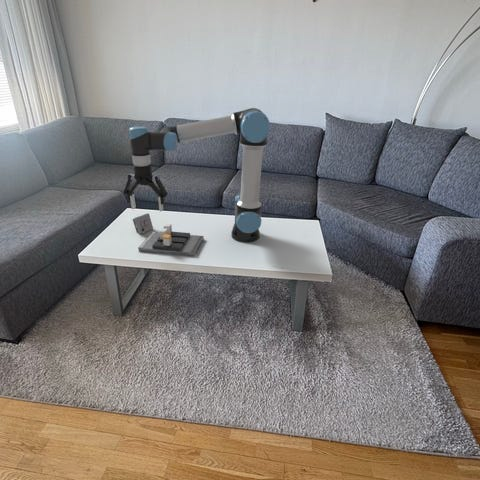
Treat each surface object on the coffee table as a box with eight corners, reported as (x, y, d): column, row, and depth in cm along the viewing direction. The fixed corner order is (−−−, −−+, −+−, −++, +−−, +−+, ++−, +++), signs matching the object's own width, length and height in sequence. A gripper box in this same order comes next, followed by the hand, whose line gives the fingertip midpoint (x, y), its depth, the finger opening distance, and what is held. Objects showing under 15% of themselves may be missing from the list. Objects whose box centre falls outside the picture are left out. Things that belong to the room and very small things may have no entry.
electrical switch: (139, 235, 176) (136, 218, 173) (133, 233, 180) (130, 217, 176) (153, 229, 183) (150, 213, 179) (148, 227, 186) (145, 212, 182)
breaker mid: (168, 236, 167) (167, 228, 165) (165, 239, 164) (165, 231, 162) (162, 236, 167) (161, 228, 165) (160, 239, 165) (159, 231, 162)
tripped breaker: (171, 242, 161) (171, 234, 159) (169, 245, 158) (168, 237, 156) (165, 242, 162) (165, 234, 160) (163, 245, 159) (162, 237, 157)
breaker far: (172, 231, 172) (171, 223, 170) (170, 234, 169) (169, 226, 167) (166, 231, 173) (165, 223, 171) (164, 233, 170) (163, 226, 168)
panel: (203, 239, 173) (203, 233, 172) (194, 256, 157) (194, 250, 156) (152, 235, 177) (152, 229, 175) (138, 251, 161) (137, 245, 159)
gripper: (172, 163, 146) (175, 208, 155) (119, 160, 149) (126, 204, 159) (166, 168, 139) (170, 214, 149) (111, 164, 142) (118, 210, 152)
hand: (147, 209), depth 154 cm, fingers open, 13 cm apart
